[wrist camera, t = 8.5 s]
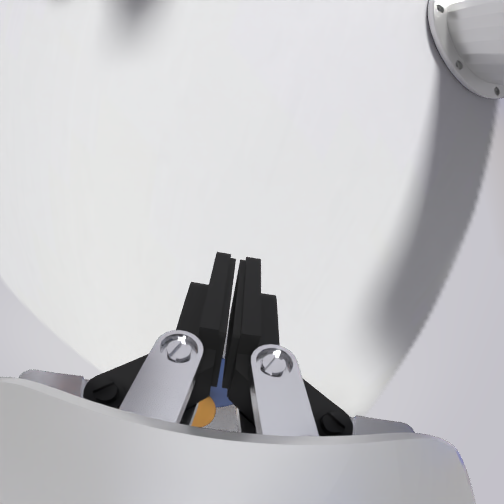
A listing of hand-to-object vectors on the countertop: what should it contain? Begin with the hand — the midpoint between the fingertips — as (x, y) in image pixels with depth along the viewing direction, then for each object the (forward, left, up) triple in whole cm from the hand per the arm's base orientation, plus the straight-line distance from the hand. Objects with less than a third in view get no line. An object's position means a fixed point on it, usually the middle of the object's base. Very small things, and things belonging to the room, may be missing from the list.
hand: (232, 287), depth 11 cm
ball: (+2, +30, -11) cm, 32 cm away
